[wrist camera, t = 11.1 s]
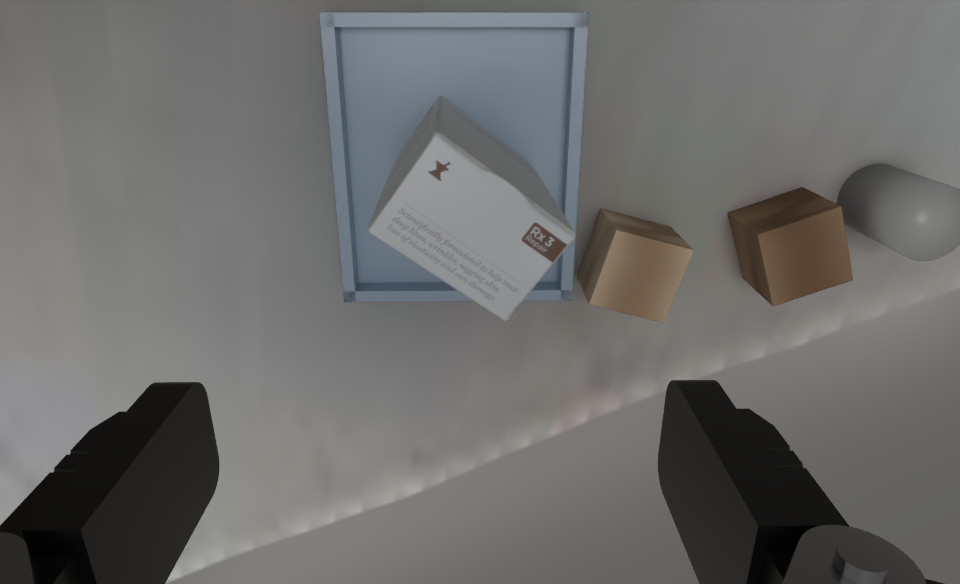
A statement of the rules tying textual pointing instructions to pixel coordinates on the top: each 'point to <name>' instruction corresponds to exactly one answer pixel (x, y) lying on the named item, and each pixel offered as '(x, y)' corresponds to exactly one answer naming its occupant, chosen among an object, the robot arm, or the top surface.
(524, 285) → the skincare box
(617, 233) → the beech block
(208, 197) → the top surface
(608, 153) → the top surface
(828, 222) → the walnut block
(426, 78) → the tray
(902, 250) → the grey capsule
